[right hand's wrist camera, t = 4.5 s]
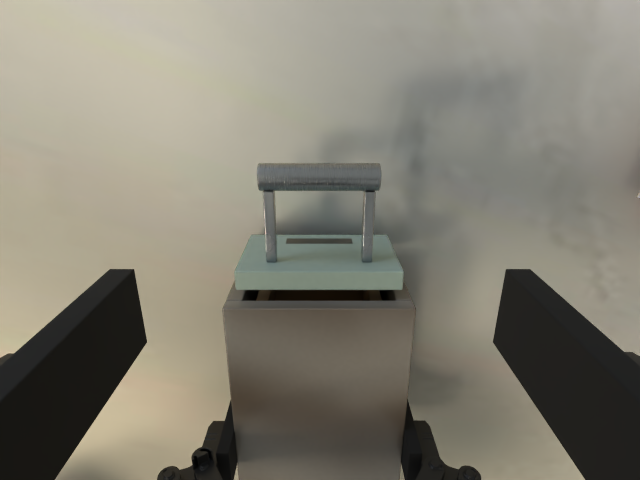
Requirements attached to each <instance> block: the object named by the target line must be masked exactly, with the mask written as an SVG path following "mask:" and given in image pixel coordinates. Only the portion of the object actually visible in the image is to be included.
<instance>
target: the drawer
mask: <svg viewBox="0 0 640 480" xmlns="http://www.w3.org/2000/svg"><path fill="white" fill-rule="evenodd" d="M257 182H258V188H259V190H260V191H263V204H264V224H265V235H251V237H250V239H249V241H248V243H247V245H246V248H245V250H244V252H243V254H242V256H241V259H240V261H239V263H238V265H237V267H236V270H235V272H234V274H235V286H236V290H259V293H258V296H257V299H256V301H382V298H381V295H380V291H379V290H402V289H403V278H404V271H403V269H402V267H401V264H400V262H399V260H398V258H397V255H396V253H395V251H394V249H393V247H392V244H391V242H390V240H389V238H388V235H373V231H374V211H375V191H379V189H380V185H381V166H380V164H379V163H259V164H258V168H257ZM275 191H364V196H363V222H362V235H276V211H275Z"/></svg>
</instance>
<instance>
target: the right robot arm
mask: <svg viewBox="0 0 640 480" xmlns="http://www.w3.org/2000/svg"><path fill="white" fill-rule="evenodd" d="M146 343H147V339H146V334H145V328H144V323H143V317H142V311H141V306H140V300H139V295H138V289H137V284H136V278H135V272H134V269H110V270H109V271H107V272H106V273H105V274H104V275H103V276H102V277H101V278H100V279H98V280H97V281H96V282H95V283H94V284H93V285H92V286H90V287H89V288H88V289H87V290H86V291H85V292H84V293H82V294H81V295H80V296H79V297H78V298H77V299H76V300H75V301H73V302H72V303H71V304H70V305H69V306H68V307H67V308H65V309H64V310H63V311H62V312H61V313H60V314H59V315H57V316H56V317H55V318H54V319H53V320H52V321H51V322H50V323H48V324H47V325H46V326H45V327H44V328H43V329H42V330H40V331H39V332H38V333H37V334H36V335H35V336H34V337H32V338H31V339H30V340H29V341H28V342H27V343H26V344H25V345H23V346H22V347H21V348H20V349H19V350H18V351H17V352H15V353H14V354H7V355H5V356H3V357H1V358H0V480H55V478H56V477H57V475H58V474H59V472H60V471H61V469H62V468H63V466H64V465H65V463H66V462H67V460H68V459H69V457H70V456H71V455H72V453H73V452H74V450H75V449H76V447H77V446H78V444H79V443H80V441H81V440H82V438H83V437H84V435H85V434H86V432H87V431H88V429H89V428H90V426H91V425H92V423H93V422H94V420H95V419H96V417H97V416H98V414H99V413H100V411H101V410H102V408H103V407H104V405H105V404H106V402H107V401H108V399H109V398H110V396H111V395H112V393H113V392H114V390H115V389H116V387H117V386H118V385H119V383H120V382H121V380H122V379H123V377H124V376H125V374H126V373H127V371H128V370H129V368H130V367H131V365H132V364H133V362H134V361H135V359H136V358H137V356H138V355H139V353H140V352H141V350H142V349H143V347H144V346H145V344H146ZM493 343H494V344H495V346H496V347H497V349H498V350H499V352H500V353H501V355H502V356H503V358H504V359H505V361H506V362H507V364H508V365H509V367H510V368H511V370H512V371H513V373H514V374H515V376H516V377H517V379H518V380H519V382H520V383H521V385H522V386H523V388H524V389H525V390H526V392H527V393H528V395H529V396H530V398H531V399H532V401H533V402H534V404H535V405H536V407H537V408H538V410H539V411H540V413H541V414H542V416H543V417H544V419H545V420H546V422H547V423H548V425H549V426H550V428H551V429H552V431H553V432H554V434H555V435H556V437H557V438H558V440H559V441H560V443H561V444H562V446H563V447H564V449H565V450H566V452H567V453H568V455H569V456H570V458H571V459H572V460H573V462H574V463H575V465H576V466H577V468H578V469H579V471H580V472H581V474H582V475H583V477H584V478H585V480H640V356H638V355H636V354H634V353H633V352H623V351H622V350H621V349H620V348H619V347H618V346H617V345H615V344H614V343H613V342H612V341H611V340H610V339H609V338H607V337H606V336H605V335H604V334H603V333H602V332H601V331H600V330H598V329H597V328H596V327H595V326H594V325H593V324H592V323H590V322H589V321H588V320H587V319H586V318H585V317H584V316H583V315H581V314H580V313H579V312H578V311H577V310H576V309H575V308H573V307H572V306H571V305H570V304H569V303H568V302H567V301H565V300H564V299H563V298H562V297H561V296H560V295H559V294H558V293H556V292H555V291H554V290H553V289H552V288H551V287H550V286H548V285H547V284H546V283H545V282H544V281H543V280H542V279H540V278H539V277H538V276H537V275H536V274H535V273H534V272H533V271H531V270H530V269H506V272H505V278H504V283H503V289H502V295H501V300H500V306H499V311H498V317H497V323H496V328H495V334H494V339H493Z"/></svg>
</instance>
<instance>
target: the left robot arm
mask: <svg viewBox="0 0 640 480" xmlns="http://www.w3.org/2000/svg"><path fill="white" fill-rule="evenodd" d="M192 464H193V465H192V466H190V467H188V468H185V469H182V470H179V469H178V468H177V467H174V466H170V467H167V468H164V469H163V470H162V471H161V472H160V473H159V475H158V478H157V480H234V475H235V470H236V466H237V454H236V443H235V433H234V423H233V413H232V403H231V401H230V405H229V408H228V412H227V415H226V419H225V421H213V422H212V424H211V425H210V426H209V427H208V431H207V434H206V437H205V440H204V443H203V446H202V447H201V448H198V449H197V450H195V452H194V453H193V454H192ZM401 464H402V468H403V473H404V478H405V480H481V476H480V474H479V472H478V471H477V470H476V469H475V468H473V467H471V466H462V467H461V468H460V469H459V470H458V469H455V468H452V467H449V466H447V465H446V464H444V462H443V461H442V460H441V459H440V457H439V453H438V450H437V447H436V444H435V441H434V438H433V435H432V432H431V429H430V426H429V425H428V424H427V422H426V421H413V417H412V414H411V410H410V406H409V403H408V399H407V407H406V417H405V427H404V437H403V448H402V458H401Z"/></svg>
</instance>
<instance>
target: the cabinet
mask: <svg viewBox="0 0 640 480" xmlns="http://www.w3.org/2000/svg"><path fill="white" fill-rule="evenodd" d="M379 291H380V295H381V298H382V301H256V299H257V296H258V293H259V290H236V286H235V281H234V284H233V286H232V288H231V291H230V293H229V295H228V297H227V300H226V302H225V304H224V307H223V309H222V310H223V320H224V331H225V341H226V351H227V361H228V372H229V382H230V392H231V403H232V413H233V423H234V433H235V443H236V454H237V465H238V475H239V480H399V479H400V469H401V458H402V448H403V437H404V427H405V417H406V407H407V396H408V386H409V375H410V365H411V355H412V344H413V334H414V324H415V313H416V308H415V306H414V304H413V301H412V299H411V297H410V294H409V292H408V290H407V287H406V285H405V283H404V280H403V289H402V290H379Z"/></svg>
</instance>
